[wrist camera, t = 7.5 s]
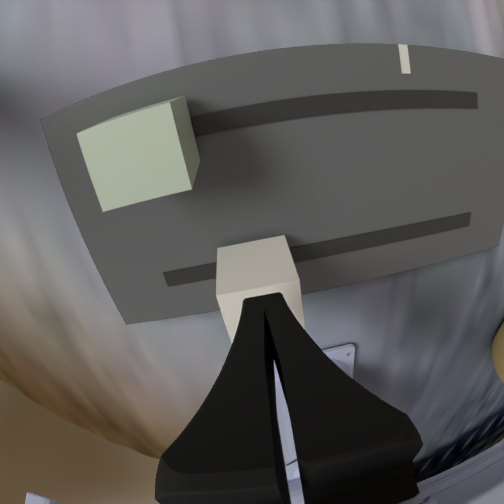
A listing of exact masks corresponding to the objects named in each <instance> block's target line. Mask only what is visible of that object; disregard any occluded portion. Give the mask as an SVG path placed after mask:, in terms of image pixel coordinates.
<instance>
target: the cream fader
mask: <svg viewBox="0 0 504 504" xmlns="http://www.w3.org/2000/svg"><path fill="white" fill-rule="evenodd" d="M277 292H280V293H282V294H283V297H284V299H285V301H286V303H287V305H288V306H289V308H290V310H291V311H292V313H293V314H294V316H295V317H296V319H297V320H298V322H299V323H300V324H301V326H302V327H303V328H304V330H305V326H304V316H303V307H302V298H301V289H300V280H299V277H298V274H297V271H296V268H295V265H294V262H293V259H292V256H291V253H290V250H289V247H288V244H287V241H286V238H285V235H282V236H277V237H271V238H266V239H261V240H256V241H251V242H246V243H241V244H235V245H230V246H225V247H220V248H217V274H216V298H217V301H218V304H219V307H220V310H221V313H222V316H223V319H224V322H225V325H226V328H227V331H228V334H229V337H230V340H231V343H233V340H234V337H235V333H236V330H237V327H238V323H239V320H240V315H241V311H242V303H243V300H244V299H245V298H249V297H255V296H261V295H266V294H272V293H277Z"/></svg>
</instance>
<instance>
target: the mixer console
mask: <svg viewBox="0 0 504 504" xmlns="http://www.w3.org/2000/svg"><path fill="white" fill-rule="evenodd" d="M182 96H185V98H186V102H187V107H188V111H189V115H190V119H191V124H192V128H193V132H194V136H195V140H196V144H197V149H198V153H199V157H200V164H199V167H198V170H197V174H196V177H195V181H194V184H193V188H192V189H191V190H187V191H183V192H178V193H174V194H170V195H166V196H162V197H158V198H154V199H150V200H146V201H142V202H138V203H134V204H130V205H127V206H123V207H119V208H115V209H112V210H108V211H105V212H103V211H102V208H101V205H100V203H99V200H98V197H97V194H96V192H95V189H94V186H93V183H92V180H91V177H90V175H89V172H88V169H87V166H86V163H85V160H84V156H83V153H82V150H81V147H80V144H79V140H78V137H77V133H79V132H81V131H83V130H85V129H87V128H90V127H92V126H94V125H96V124H98V123H101V122H103V121H105V120H108V119H110V118H112V117H115V116H118V115H121V114H124V113H127V112H130V111H133V110H136V109H140V108H143V107H146V106H149V105H153V104H156V103H160V102H163V101H167V100H171V99H174V98H178V97H182ZM41 123H42V127H43V130H44V134H45V137H46V140H47V144H48V147H49V150H50V153H51V156H52V159H53V162H54V165H55V168H56V171H57V174H58V177H59V179H60V182H61V185H62V188H63V190H64V193H65V196H66V198H67V201H68V203H69V206H70V208H71V211H72V213H73V216H74V218H75V221H76V223H77V225H78V228H79V230H80V232H81V235H82V237H83V239H84V242H85V244H86V246H87V248H88V250H89V253H90V255H91V257H92V259H93V261H94V263H95V265H96V267H97V269H98V272H99V274H100V276H101V278H102V280H103V282H104V284H105V286H106V288H107V290H108V291H109V293H110V295H111V297H112V299H113V301H114V303H115V305H116V307H117V309H118V310H119V312H120V314H121V316H122V318H123V319H124V321H125V323H126V324H134V323H141V322H148V321H155V320H161V319H168V318H175V317H181V316H187V315H193V314H200V313H206V312H212V311H217V310H220V307H219V304H218V301H217V298H216V274H217V248H220V247H225V246H230V245H235V244H241V243H246V242H251V241H256V240H261V239H266V238H271V237H277V236H282V235H285V238H286V241H287V244H288V247H289V250H290V253H291V256H292V259H293V262H294V265H295V268H296V271H297V274H298V277H299V280H300V289H301V295H302V294H307V293H312V292H317V291H321V290H326V289H331V288H335V287H340V286H344V285H349V284H353V283H358V282H362V281H366V280H371V279H375V278H379V277H383V276H388V275H392V274H396V273H400V272H404V271H408V270H412V269H416V268H420V267H424V266H428V265H431V264H435V263H439V262H443V261H446V260H450V259H454V258H457V257H461V256H465V255H468V254H472V253H475V252H479V251H482V250H486V249H489V248H493V247H496V246H498V245H499V241H500V236H501V231H502V227H503V222H504V59H502V58H498V57H493V56H488V55H483V54H478V53H472V52H466V51H460V50H453V49H445V48H437V47H427V46H416V45H403V44H328V45H312V46H300V47H290V48H281V49H273V50H265V51H258V52H252V53H246V54H240V55H234V56H229V57H224V58H219V59H214V60H209V61H205V62H200V63H196V64H192V65H188V66H184V67H180V68H176V69H173V70H169V71H165V72H162V73H158V74H155V75H152V76H148V77H145V78H142V79H139V80H136V81H133V82H130V83H127V84H124V85H121V86H118V87H115V88H113V89H110V90H107V91H105V92H102V93H99V94H97V95H94V96H92V97H89V98H87V99H84V100H82V101H80V102H77V103H75V104H73V105H70V106H68V107H66V108H64V109H61V110H59V111H57V112H55V113H53V114H51V115H49V116H47V117H45V118H43V119H41Z"/></svg>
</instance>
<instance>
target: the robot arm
mask: <svg viewBox="0 0 504 504" xmlns="http://www.w3.org/2000/svg"><path fill="white" fill-rule="evenodd" d="M354 357H355V347H354V345H353V344H347V345H343V346H338V347H334V348H330V349H326V350H321V349H320V348H319V347H318V345H317V344H316V343H315V342H314V341H313V340H312V339H311V337H310V336H309V335H308V334H307V332H306V331H305V330H304V328H303V327H302V326H301V324H300V323H299V322H298V320H297V319H296V317H295V316H294V314H293V313H292V311H291V310H290V308H289V306H288V305H287V303H286V301H285V299H284V297H283V294H282V293H280V292H277V293H272V294H266V295H261V296H255V297H249V298H245V299H244V300H243V303H242V311H241V315H240V320H239V323H238V327H237V330H236V333H235V337H234V340H233V343H232V346H231V348H230V351H229V353H228V356H227V358H226V361H225V363H224V365H223V367H222V370H221V372H220V374H219V376H218V378H217V380H216V382H215V384H214V385H213V387H212V389H211V391H210V392H209V394H208V396H207V397H206V399H205V401H204V402H203V404H202V405H201V407H200V409H199V410H198V411H197V413H196V414H195V416H194V417H193V418H192V420H191V421H190V422H189V424H188V425H187V426H186V428H185V429H184V430H183V432H182V433H181V434H180V435H179V436H178V437H177V439H176V440H175V441H174V442H173V443H172V444H171V445H170V446H169V448H168V449H167V450H166V451H165V452H164V453H163V454H162V455H161V458H160V461H159V465H158V470H157V474H156V483H155V500H157V502H159V503H160V504H417V503H420V502H422V501H424V502H423V503H422V504H504V440H502V441H501V442H499V443H497V444H496V445H494V446H492V447H491V448H489V449H487V450H485V451H484V452H482V453H480V454H478V455H476V456H475V457H473V458H471V459H469V460H467V461H465V462H463V463H461V464H459V465H457V466H455V467H453V468H451V469H449V470H447V471H445V472H442V473H440V474H438V475H436V476H433V477H431V478H429V479H426V480H424V481H421V482H419V483H416V480H415V477H414V474H413V473H414V472H415V467H414V464H413V461H412V460H413V459H414V458H415V456H416V455H417V454H418V452H419V451H420V449H421V447H422V445H423V443H422V440H421V437H420V434H419V433H418V431H417V429H416V427H415V426H414V424H413V423H412V421H411V420H410V418H409V417H408V415H407V414H405V413H403V412H402V411H400V410H398V409H396V408H394V407H393V406H391V405H389V404H388V403H386V402H384V401H383V400H381V399H380V398H378V397H377V396H375V395H374V394H372V393H371V392H369V391H368V390H367V389H365V388H364V387H363V386H361V385H360V384H359V383H357V382H356V381H355V380H353V379H352V378H353V368H354ZM25 504H60V503H59V502H57V501H54V500H52V499H49V498H46V497H43V496H40V495H36V494H33V493H30V492H28V493H27V496H26V501H25Z"/></svg>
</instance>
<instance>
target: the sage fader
mask: <svg viewBox="0 0 504 504" xmlns="http://www.w3.org/2000/svg"><path fill="white" fill-rule="evenodd" d="M77 137H78V140H79V144H80V147H81V150H82V153H83V156H84V160H85V163H86V166H87V169H88V172H89V175H90V177H91V180H92V183H93V186H94V189H95V192H96V194H97V197H98V200H99V203H100V205H101V208H102V211H103V212H105V211H108V210H112V209H115V208H119V207H123V206H127V205H130V204H134V203H138V202H142V201H146V200H150V199H154V198H158V197H162V196H166V195H170V194H174V193H178V192H183V191H187V190H191V189H192V188H193V184H194V181H195V177H196V174H197V170H198V167H199V164H200V157H199V153H198V149H197V144H196V140H195V136H194V132H193V128H192V124H191V119H190V115H189V111H188V107H187V102H186V98H185V96H182V97H178V98H174V99H171V100H167V101H163V102H160V103H156V104H153V105H149V106H146V107H143V108H140V109H136V110H133V111H130V112H127V113H124V114H121V115H118V116H115V117H112V118H110V119H108V120H105V121H103V122H101V123H98V124H96V125H94V126H92V127H90V128H87V129H85V130H83V131H81V132H79V133H77Z"/></svg>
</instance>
